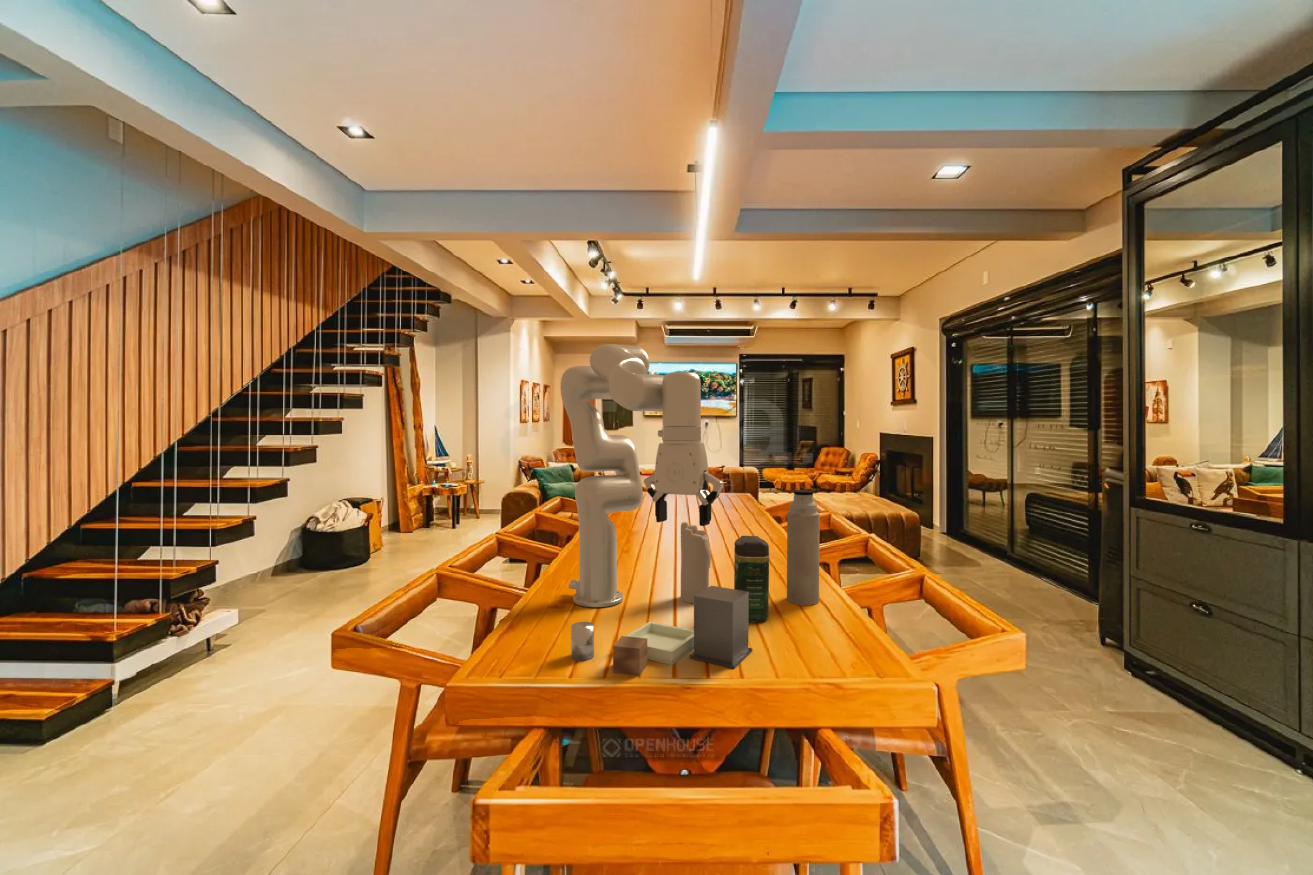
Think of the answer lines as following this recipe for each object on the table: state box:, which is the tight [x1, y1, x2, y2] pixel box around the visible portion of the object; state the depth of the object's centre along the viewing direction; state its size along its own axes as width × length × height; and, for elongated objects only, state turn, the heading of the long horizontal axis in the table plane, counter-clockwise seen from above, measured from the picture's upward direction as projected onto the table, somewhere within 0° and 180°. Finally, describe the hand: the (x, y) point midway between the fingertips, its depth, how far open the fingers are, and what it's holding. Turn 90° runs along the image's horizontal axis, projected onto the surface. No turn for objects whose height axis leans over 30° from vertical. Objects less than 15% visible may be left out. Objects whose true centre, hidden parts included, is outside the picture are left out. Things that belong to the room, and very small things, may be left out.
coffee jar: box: [733, 535, 770, 623], centre depth 134 cm, size 10×8×19 cm
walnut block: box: [612, 635, 648, 677], centre depth 106 cm, size 5×5×5 cm
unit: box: [689, 585, 753, 670], centre depth 112 cm, size 9×9×12 cm
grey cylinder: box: [570, 621, 595, 662], centre depth 112 cm, size 4×4×6 cm
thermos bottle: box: [786, 489, 821, 606], centre depth 146 cm, size 8×8×28 cm
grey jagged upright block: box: [680, 521, 712, 604], centre depth 146 cm, size 7×14×20 cm, turn 73°
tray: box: [625, 621, 694, 666], centre depth 116 cm, size 12×12×2 cm
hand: (682, 523), depth 113 cm, fingers open, 9 cm apart
